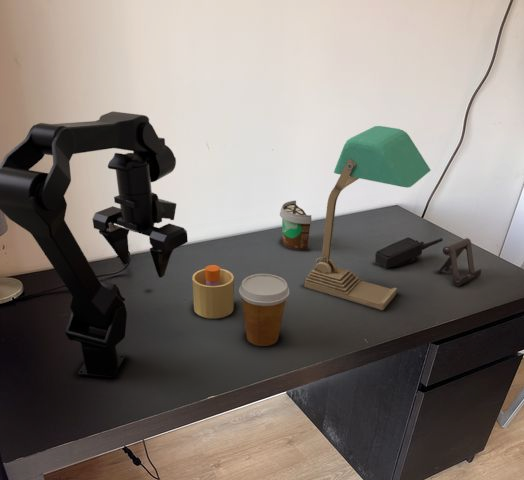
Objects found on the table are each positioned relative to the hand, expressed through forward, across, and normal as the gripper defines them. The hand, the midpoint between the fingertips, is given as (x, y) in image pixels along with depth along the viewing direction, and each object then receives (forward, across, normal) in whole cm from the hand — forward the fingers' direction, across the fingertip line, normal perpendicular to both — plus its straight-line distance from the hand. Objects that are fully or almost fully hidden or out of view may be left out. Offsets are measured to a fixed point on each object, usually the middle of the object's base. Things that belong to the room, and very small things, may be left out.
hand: (143, 270), depth 102 cm
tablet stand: (+12, -46, -60) cm, 77 cm away
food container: (+12, -3, -52) cm, 53 cm away
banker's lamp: (+12, -28, -37) cm, 49 cm away
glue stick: (+11, -7, -12) cm, 18 cm away
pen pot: (+12, -7, -12) cm, 19 cm away
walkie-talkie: (+12, -33, -62) cm, 71 cm away
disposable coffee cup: (+12, -22, -9) cm, 27 cm away
